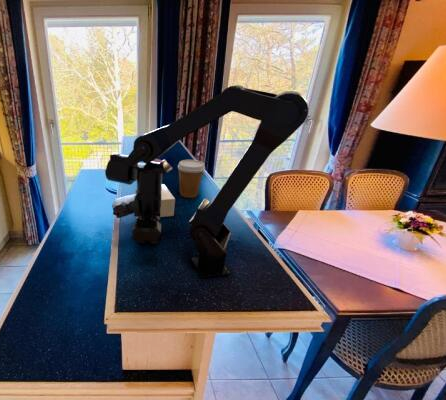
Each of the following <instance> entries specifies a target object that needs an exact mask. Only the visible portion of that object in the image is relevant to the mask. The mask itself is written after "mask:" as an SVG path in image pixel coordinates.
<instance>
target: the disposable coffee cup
mask: <svg viewBox="0 0 446 400" xmlns="http://www.w3.org/2000/svg"><path fill="white" fill-rule="evenodd" d="M177 168H178V181H179V182H178V185H179V195H180V196H181V197H184V198H187V199H188V198H189V199H190V198H196V197H197V196H198V194H199V190H200V187H201V186H200V185H201V181H202V178H203V175H204V171H205V170H206V166H205V163H204V162H203V161H201V160H197V159H182V160H179V163H178V165H177Z"/></svg>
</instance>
